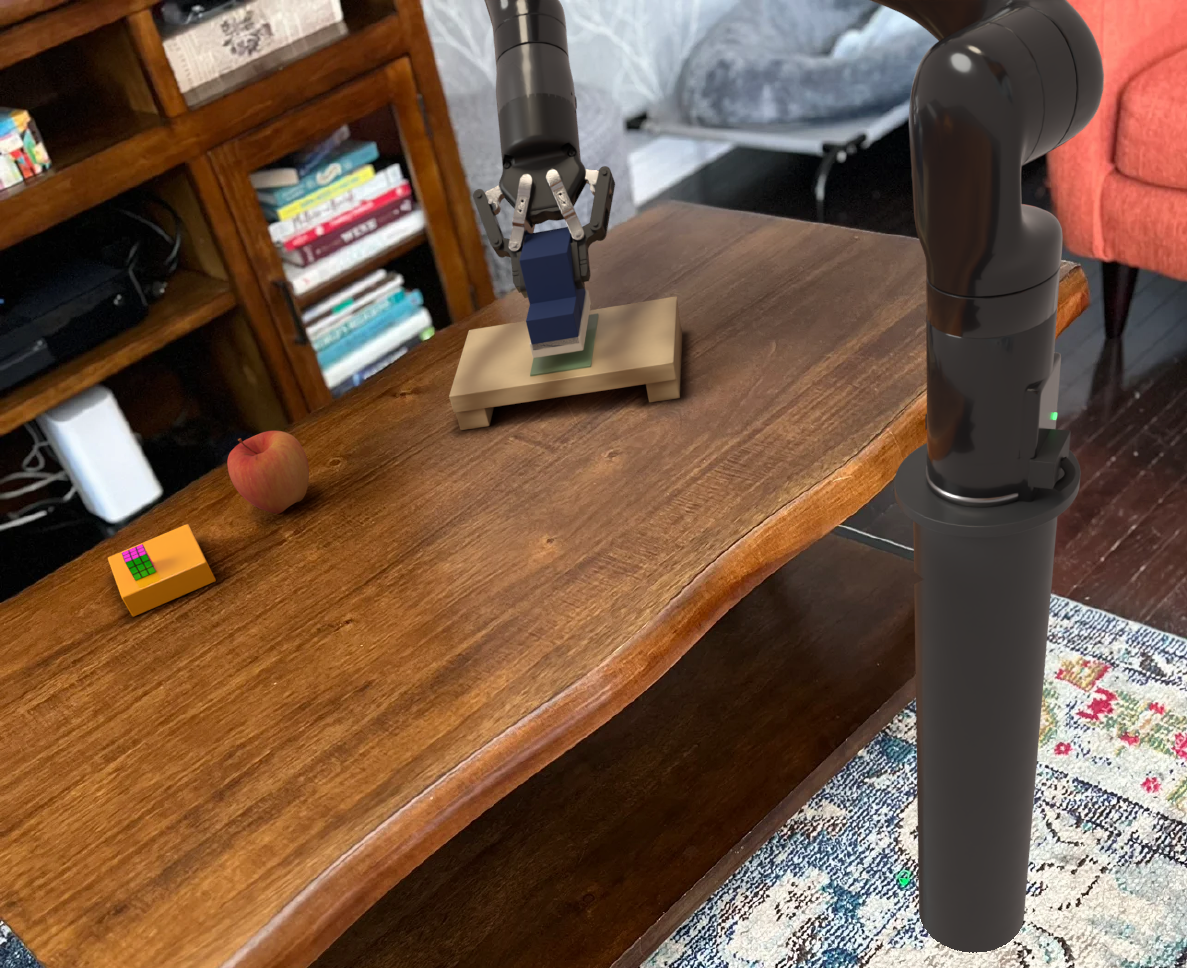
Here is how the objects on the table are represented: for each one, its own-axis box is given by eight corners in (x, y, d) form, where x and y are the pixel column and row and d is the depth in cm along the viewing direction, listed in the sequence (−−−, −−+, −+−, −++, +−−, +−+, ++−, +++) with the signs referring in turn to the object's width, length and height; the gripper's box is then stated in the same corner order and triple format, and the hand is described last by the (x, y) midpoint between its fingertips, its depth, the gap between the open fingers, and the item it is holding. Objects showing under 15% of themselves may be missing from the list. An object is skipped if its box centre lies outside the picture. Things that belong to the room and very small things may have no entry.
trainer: (542, 311, 125) (524, 232, 119) (591, 303, 124) (574, 223, 118) (532, 358, 118) (512, 277, 112) (583, 350, 117) (565, 267, 111)
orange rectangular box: (118, 576, 115) (96, 539, 112) (197, 542, 117) (178, 504, 114) (132, 617, 110) (110, 579, 107) (216, 581, 111) (196, 542, 108)
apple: (336, 494, 118) (306, 419, 113) (278, 534, 115) (245, 460, 109) (291, 477, 122) (260, 404, 117) (234, 515, 119) (199, 442, 114)
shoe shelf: (682, 333, 127) (676, 294, 124) (679, 401, 118) (673, 360, 115) (478, 365, 131) (468, 328, 128) (459, 433, 122) (448, 394, 119)
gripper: (453, 106, 115) (470, 288, 115) (603, 76, 112) (619, 262, 112) (476, 145, 122) (491, 316, 122) (617, 118, 120) (632, 293, 120)
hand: (552, 289), depth 117 cm, fingers closed on trainer, 4 cm apart
